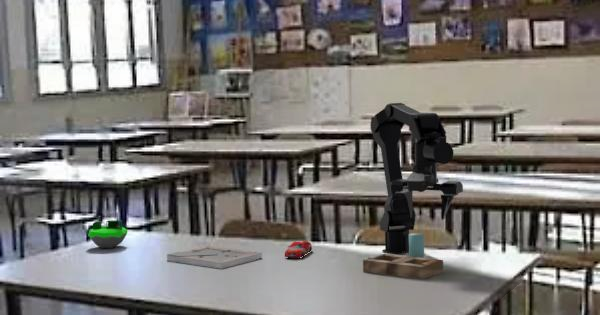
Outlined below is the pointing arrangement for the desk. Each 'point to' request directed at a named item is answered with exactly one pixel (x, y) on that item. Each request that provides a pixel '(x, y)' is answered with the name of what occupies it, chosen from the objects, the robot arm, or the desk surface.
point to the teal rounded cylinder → (416, 245)
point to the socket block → (403, 265)
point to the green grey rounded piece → (108, 233)
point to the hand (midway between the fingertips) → (426, 218)
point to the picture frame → (214, 256)
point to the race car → (298, 249)
